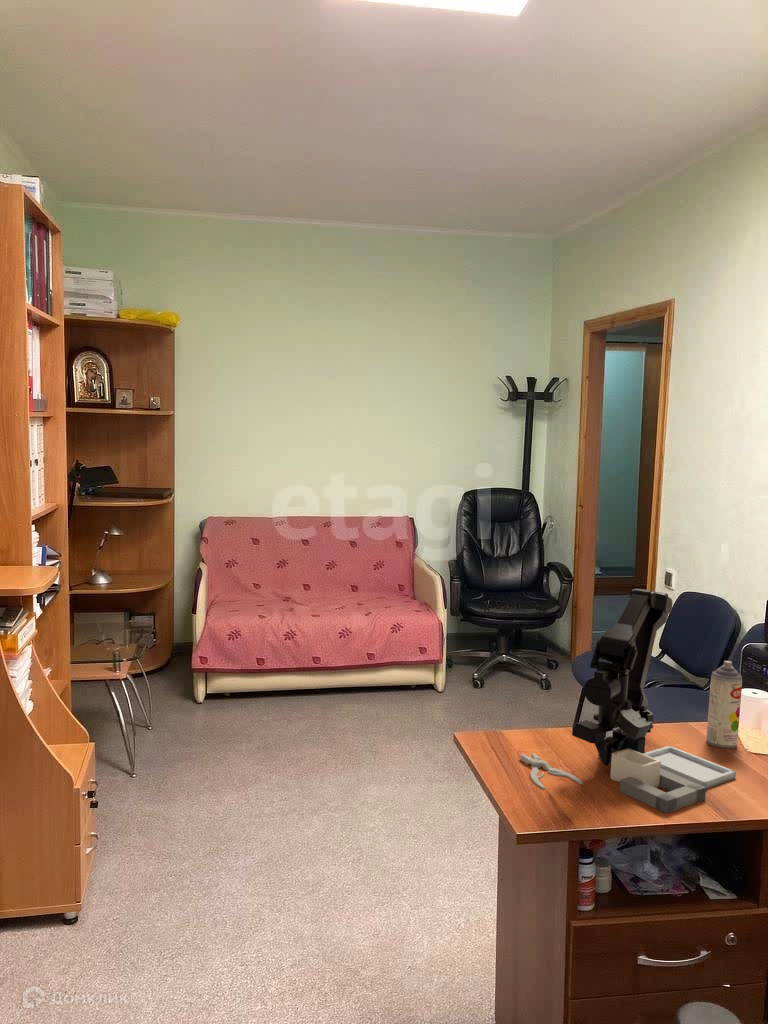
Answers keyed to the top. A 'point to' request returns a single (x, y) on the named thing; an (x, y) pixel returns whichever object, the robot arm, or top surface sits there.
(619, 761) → the box
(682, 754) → the tray
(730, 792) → the top surface
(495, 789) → the top surface
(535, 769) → the pliers
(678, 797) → the bay
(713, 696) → the aerosol can
